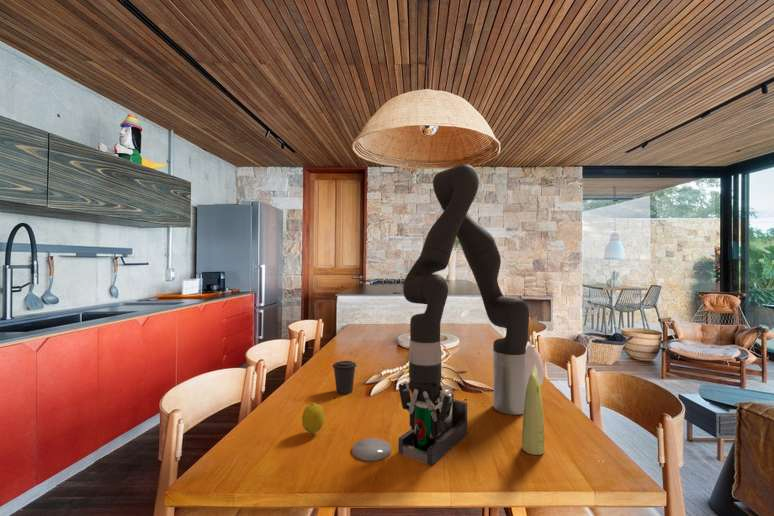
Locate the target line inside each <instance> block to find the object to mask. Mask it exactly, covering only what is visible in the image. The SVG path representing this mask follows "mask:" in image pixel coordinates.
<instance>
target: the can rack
mask: <svg viewBox="0 0 774 516" xmlns="http://www.w3.org/2000/svg"><path fill="white" fill-rule="evenodd" d="M467 435H468V402H467V401H463V400H459V399H455V398H453V428H451V429H450V430H449V431H448V432H447V433H445V434H444V435H443V436H442V437H441V438H439V439H438V440H436V442H434V443H433V444H432V445H431V446H430V447H428V448H427V452H425V451H422V450H420V449H417V448H414V430H412V429H411V428H410V429H409V430H407V431H405V432H404V433H403V434H401V435H400V436H399V437H398V450H397V451H398V454H401V455H403V456H405V457H408V458H410V459H413V460H416V461H418V462H420V463H423V464H425V465H427V466H430V467H434V466H435V464H436V463H437V462H439V461H440V460H441V459H442V458H443V457H444V456H445V455H446V454H447V453H448V452H449V451H451V449H453V448H454V447H455V446H456V445H457V444H458V443H459V442H460V441H462V440H463V439H464V437H466V436H467Z"/></svg>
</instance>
